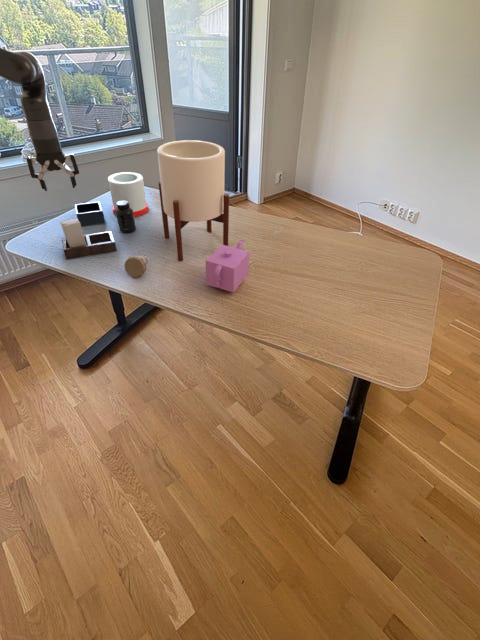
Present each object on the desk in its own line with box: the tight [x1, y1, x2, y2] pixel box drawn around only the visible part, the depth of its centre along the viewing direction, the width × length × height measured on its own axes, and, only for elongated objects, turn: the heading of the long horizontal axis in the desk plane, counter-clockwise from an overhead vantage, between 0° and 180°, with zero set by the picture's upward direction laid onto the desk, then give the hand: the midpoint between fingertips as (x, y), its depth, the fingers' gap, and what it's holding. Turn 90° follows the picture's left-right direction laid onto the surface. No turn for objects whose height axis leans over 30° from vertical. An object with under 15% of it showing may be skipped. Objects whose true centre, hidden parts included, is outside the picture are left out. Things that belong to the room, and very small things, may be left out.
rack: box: [61, 230, 118, 261], centre depth 131 cm, size 18×10×4 cm, turn 114°
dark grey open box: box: [74, 201, 106, 228], centre depth 149 cm, size 10×10×6 cm
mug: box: [123, 255, 149, 278], centre depth 121 cm, size 8×10×10 cm
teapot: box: [205, 239, 250, 293], centre depth 117 cm, size 20×10×12 cm, turn 155°
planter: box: [157, 139, 230, 262], centre depth 127 cm, size 22×22×36 cm
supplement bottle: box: [115, 201, 137, 235], centre depth 141 cm, size 7×7×12 cm
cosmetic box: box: [60, 217, 87, 248], centre depth 127 cm, size 6×4×12 cm
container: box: [107, 171, 149, 218], centre depth 156 cm, size 16×16×15 cm
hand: (60, 188), depth 115 cm, fingers open, 8 cm apart
